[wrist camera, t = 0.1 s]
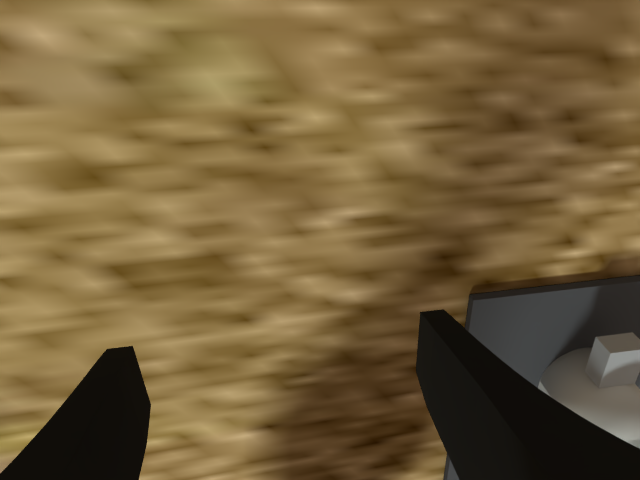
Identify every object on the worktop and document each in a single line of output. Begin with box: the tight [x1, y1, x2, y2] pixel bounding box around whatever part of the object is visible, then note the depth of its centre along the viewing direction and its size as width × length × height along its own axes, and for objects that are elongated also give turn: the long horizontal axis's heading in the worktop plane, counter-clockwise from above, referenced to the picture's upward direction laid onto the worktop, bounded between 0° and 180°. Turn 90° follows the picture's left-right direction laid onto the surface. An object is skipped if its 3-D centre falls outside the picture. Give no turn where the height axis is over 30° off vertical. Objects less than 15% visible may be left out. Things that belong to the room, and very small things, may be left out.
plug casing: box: [538, 332, 640, 449], centre depth 28 cm, size 12×4×4 cm, turn 2°
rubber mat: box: [444, 275, 640, 480], centre depth 31 cm, size 18×14×1 cm
